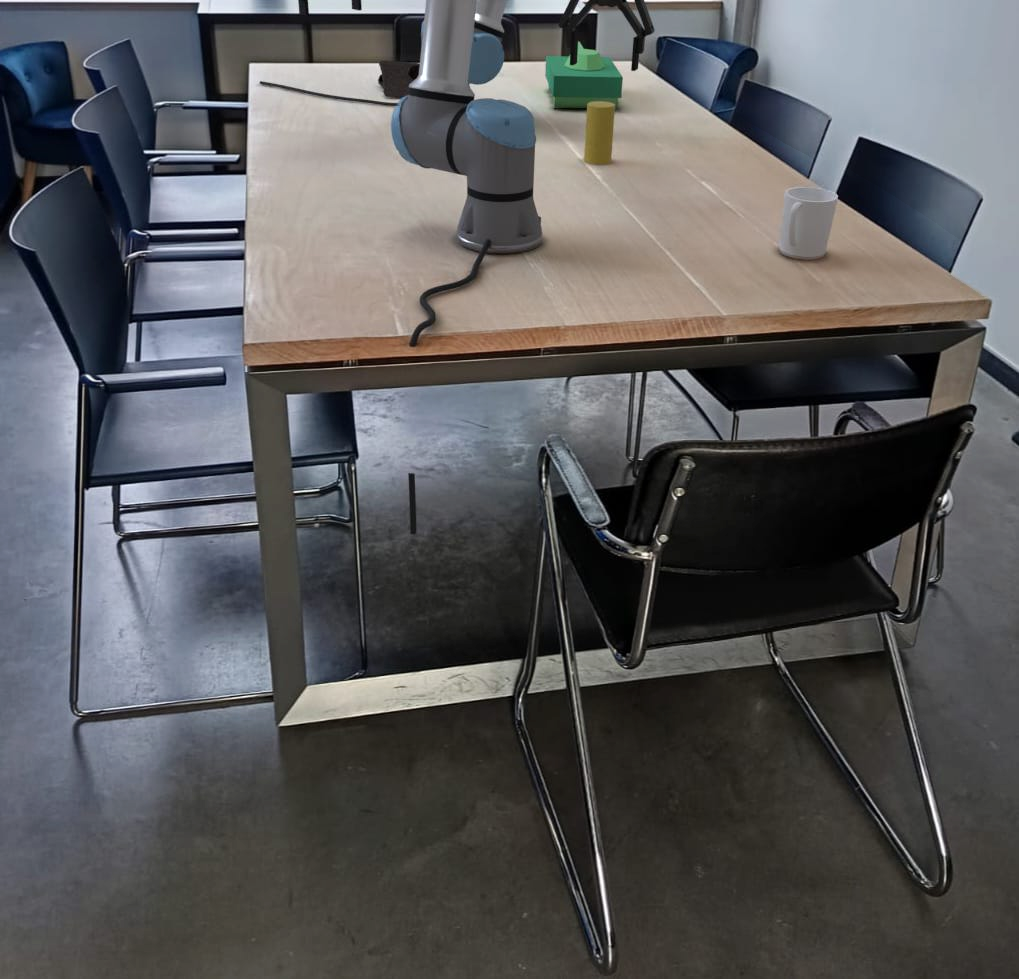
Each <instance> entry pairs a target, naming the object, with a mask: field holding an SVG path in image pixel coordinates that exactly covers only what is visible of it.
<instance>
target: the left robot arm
mask: <svg viewBox="0 0 1019 979" xmlns="http://www.w3.org/2000/svg"><path fill="white" fill-rule="evenodd" d="M297 1H298V14H299V15H302V16H306V17H307V16H308V17H309V16H310V9H309V0H297ZM508 1H509V0H477V5H476V14H475V22H474V31H473V39H472V48H471V57H470V65H469V74H468V85H469V87H470V88H471V85H477V86H481V85H485V84H487V83H490V82H491V81H493V80H494V79H495V78H496V77H497V76H498V75H499V74H500V72H501V70H502V68H503V65H504V63H505V52H504V48H503V45H502V41H503V38H504V34H505V29H504V28H503V25H502V19H503V16H504V14H505V10H506V6H507V3H508ZM351 10H355V11H362V10H363V9H362V0H351ZM423 28H424V20H422V23H421V31H420V37H421V41H422V38H423ZM259 85H262V86H263V85H264V86H267V87H268V86H269V87H273V88H280V89H285V90H287V91H293V92H298V93H301V94H306V95H311V96H316V97H321V98H327V99H333V100H340V101H346V102H354V103H363V104H372V105H379V106H387V107H397V103H398V102H388V101H379V100H373V99H364V98H355V97H348V96H347V97H346V96H340V95H334V94H328V93H321V92H317V91H312V90H307V89H303V88H302V89H301V88H297V87H293V86H289V85H284V84H279V83H273V82H268V81H262V80H260V81H259Z"/></svg>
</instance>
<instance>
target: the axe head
mask: <svg viewBox="0 0 1019 979" xmlns="http://www.w3.org/2000/svg"><path fill="white" fill-rule="evenodd" d="M378 66H379V68H380V72H381V74H379V75H378V79H377V84H378V85H379V86H380V87H381V88H382V89H383V95H384V96H385V97H388V98H394V99H395V98H396V99H401V98H403V97H405V96H407V95H408V90H409V84H411V83H412V82H413V81H414V80H415V79H417V77H418V76H419V67H420V62H410V61H408V62H407V61H397V60H388V59H387V60H380V61H379V62H378Z"/></svg>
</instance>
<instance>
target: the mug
mask: <svg viewBox="0 0 1019 979" xmlns="http://www.w3.org/2000/svg"><path fill="white" fill-rule="evenodd" d="M838 198H839V195H838V194H837V193H836V192H835V191H832V190H828V189H825V188H820V187H813V186H795V187H790V188H787V189H786V190H785V191H784V197H783V206H782V216H781V225H780V235H779V245H778V250H779V252H780V254H781V255H782V256H783V255H784V256H785V257H787V258H792V259H796V260H805V261H806V260H807V261H812V260H819V259H822V258H823V257H825V255H826V252H827V248H828V244H829V239H830V234H831V231H832V230H831V229H832V225H833V221H834V216H835V213H836V208H837V203H838Z"/></svg>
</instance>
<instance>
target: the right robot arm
mask: <svg viewBox="0 0 1019 979" xmlns="http://www.w3.org/2000/svg"><path fill="white" fill-rule="evenodd" d="M579 2H580V0H569V2H568V3H567V6H566V8H565V10H564V13H563V14H562V16H561V18H560V20H559V22H558V27H559V28H561V29H563V30H565V32H566V48H569V49H570V50H569V52H570V53H569V56H570V65H575V64H577V55H578V41H579V30H576V28H578V26H579V25H580V24H581V22H582V21H583V20H584V19H585V18H586V17H587V16H588V14H589V13H590V12H591V11H592V10H593V9H594V7H595V6H598V7H608V8H616V7H617V8H618V10H619V11H620V12H621V13H622V15H623V17H625V20H626V21H627V22H628V24H629V26H630V27H631V29H632V30H633V32H634V33H635V35H636V36H633V38H632V54H631V55H632V56H631V65H630V66H631V68H630V71H631V72H636V71H637V70H639V62H640V60H639V59H640V55H642V54H644V52H645V44H646V37H647V36H650V35H652V34H654V33H655V31H656V30H655V26H654V24H653V21H652V18H651V15H650V13H649V10H648V7H647V4H646V2H645V0H634V3H635V4H634V5H635V6H636V10H637V12H638V15H639V18H640V20H639V18H638V17H637V16H636V14H635V13H634V10H632V7H631V6H630V4H629V2H628V0H587V1H586V3H585V5H584V6H583V7H582V8H581V10H579V12H578V13H577V14H576V15H575V17H574V18H573V19H572V16H573V14H574V12H575V10H576V8H577V6H578V4H579ZM476 5H477V0H425V9H424V20H423V21H424V28H423V38H422V40H421V48H420V57H419V64H420V67H419V76H418V77H417V79H415V80H414V81H413V82H412V83H411V84H409V90H408V95H407V96H405V97H403V98H399V100H398V101H397V102H396V103H397V106H394V108H393V111H392V114H391V118H390V132H391V138H392V142H393V145H394V147H395V149H396V151H398V154H399V155H400V157H401V158H402V159H403V160H404V161H406V162H407V163H410V164H413V165H416V166H419V167H420V168H422V169H433V170H438V171H442V172H447V173H450V174H456V175H460V176H465V177H466V192H467V193H466V198H465V202H464V205H463V209H462V211H461V214H460V218H459V220H458V224H457V228H456V241H457V243H458V244H459V245H461V246H462V247H464V248H466V249H468V250H470V251H475V252H479V253H478V256H477V257H476V259H475V261H474V263H473V265H472V267H471V271H470V273H469V274H468V275H467V276H465V277H464V278H462V279H460V280H458V281H454V282H453V281H452V282H450V283H445V284H441V285H438V286H434V287H431V288H429V289H427V290H425V291H423V292H422V294H421V295H420V297H419V303H420V305H421V307H422V308H423V309H424V310H425V312H426V313H427V314H428V319H426V320H424V321H422V322H420V323H419V324H418V325H417V326H416V327H415V329H414V330H413V332H412V335H411V338H410V341H409V347H410V348H415V347H416V346H417V343H418V340H419V338H420V335H421V334H422V332H423V331H424V330H426V329H427V328H429V327H431V326H432V325H434V323H435V322H436V319H437V318H436V316H437V315H436V312H435V310H434V309H433V307H431V305H430V304H429V302H427V299H428V298H429V297H430V296H433V295H435V294H437V293H441V292H446V291H450V290H455V289H458V288H461V287H463V286H466V285H468V284H469V283H470V282H472V281H474V279H475V278H476V276H477V275H478V272H479V268H480V266H481V264H482V262H483V260H484V258H485V256H486V254H497V255H499V254H500V255H506V254H507V255H508V254H517V253H524V252H527V251H530V250H533V249H536V248H538V247H539V246H540V245H541V244H542V243H543V229H542V217H541V216H539V214H538V213H539V212H538V210H537V206H536V204H535V199H534V184H535V181H534V180H535V158H536V143H537V135H536V121H535V117H534V114H533V113H532V112H531V110H529V109H528V108H527V107H525V106H524V105H522V104H520V103H518V102H517V103H516V102H514V101H511V100H506V99H502V98H501V99H495V98H490V97H488V98H487V97H484V98H476V99H475V97H476V96H475V95H476V94H475V93H474V91H473V90H472V88H471V86H470V87H469V85H470V84H469V85H468V74H469V65H470V57H471V48H472V39H473V31H474V22H475V14H476ZM571 19H572V20H571ZM570 20H571V22H570ZM640 21H641V22H640ZM641 23H642V24H641ZM407 475H408V476H407V477H408V498H409V499H408V500H409V529H410V534H411V535H414V536H415V535H417V533H418V532H417V500H416V499H417V497H416V475H415V473H414V472H413V473H412V472H411V473H410V472H408V473H407Z"/></svg>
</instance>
